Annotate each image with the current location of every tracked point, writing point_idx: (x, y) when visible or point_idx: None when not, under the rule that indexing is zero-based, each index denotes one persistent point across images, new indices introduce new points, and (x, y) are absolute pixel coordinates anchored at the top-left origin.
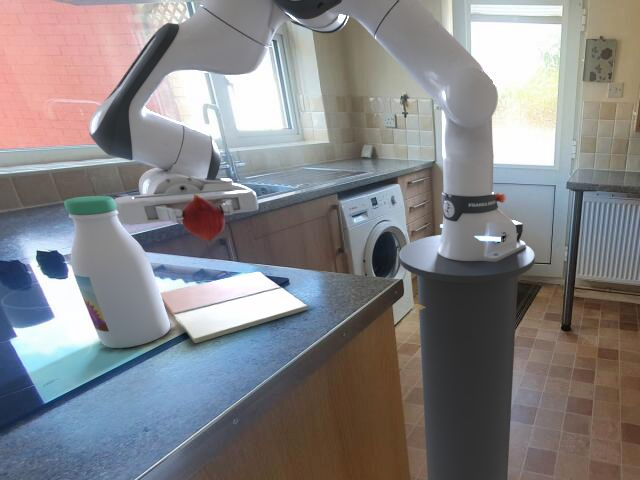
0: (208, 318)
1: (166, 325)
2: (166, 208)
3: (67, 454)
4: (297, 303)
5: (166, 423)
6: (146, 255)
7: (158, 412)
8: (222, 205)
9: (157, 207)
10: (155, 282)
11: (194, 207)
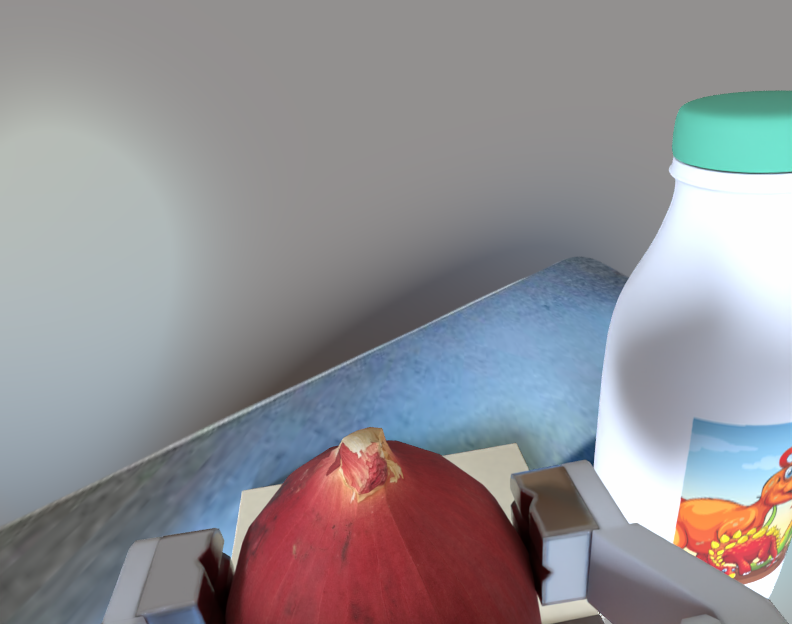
0: None
1: None
2: (647, 542)
3: (616, 302)
4: (253, 513)
5: (527, 308)
6: (613, 343)
7: (540, 322)
8: (201, 532)
9: (755, 594)
10: (599, 413)
11: (418, 448)
